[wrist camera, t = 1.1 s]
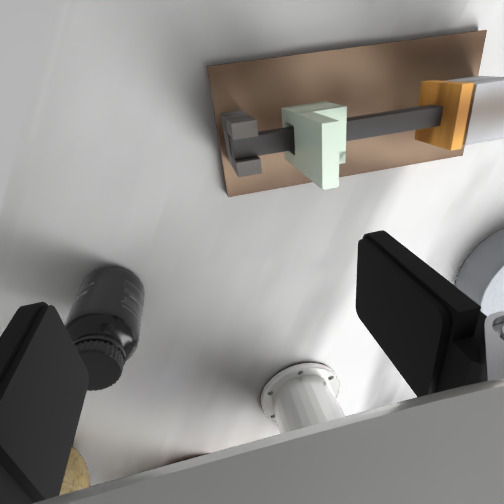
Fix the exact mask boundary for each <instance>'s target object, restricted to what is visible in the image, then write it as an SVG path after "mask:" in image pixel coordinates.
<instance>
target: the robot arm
mask: <svg viewBox="0 0 504 504" xmlns="http://www.w3.org/2000/svg"><path fill="white" fill-rule="evenodd" d="M480 310H481V306H480V305H478V304H477V303H476V302H475V301H473V300H472V299H471V298H470V297H468V296H467V295H466V294H464V293H463V292H462V291H461V290H459V289H458V288H457V287H455V286H454V285H453V284H452V283H450V282H449V281H448V280H447V279H445V278H444V277H443V276H441V275H440V274H439V273H438V272H436V271H435V270H434V269H433V268H431V267H430V266H429V265H427V264H426V263H425V262H424V261H422V260H421V259H420V258H418V257H417V256H416V255H415V254H413V253H412V252H411V251H410V250H408V249H407V248H406V247H404V246H403V245H402V244H401V243H399V242H398V241H397V240H396V239H394V238H393V237H392V236H390V235H389V234H388V233H387V232H385V231H377V232H372V233H368V234H365V235H364V236H363V239H361V240H359V242H358V260H357V286H356V311H357V314H358V317H359V318H360V320H361V321H362V322H363V324H364V325H365V326H366V328H367V329H368V330H369V332H370V333H371V334H372V336H373V337H374V339H375V340H376V341H377V343H378V344H379V345H380V347H381V348H382V349H383V351H384V352H385V353H386V355H387V356H388V358H389V359H390V360H391V362H392V363H393V364H394V366H395V367H396V368H397V370H398V371H399V372H400V374H401V375H402V376H403V378H404V379H405V381H406V382H407V383H408V385H409V386H410V387H411V389H412V390H413V391H414V393H415V394H416V395H417V398H413V399H409V400H405V401H402V402H398V403H394V404H390V405H387V406H383V407H379V408H375V409H372V410H368V411H364V412H360V413H357V414H353V415H349V416H345V415H344V413H343V411H342V409H341V407H340V405H339V403H338V401H337V399H336V398H337V396H338V394H339V390H340V384H339V380H338V378H337V376H336V374H335V373H334V371H333V370H332V369H330V368H329V367H327V366H325V365H322V364H319V363H303V364H298V365H294V366H291V367H288V368H286V369H284V370H283V371H281V372H279V373H278V374H276V375H275V376H274V377H273V378H272V379H271V380H270V381H269V382H268V383H267V384H266V386H265V387H264V389H263V391H262V394H261V405H262V409H263V411H264V413H265V415H266V416H267V417H268V418H270V419H271V420H273V421H275V422H277V424H278V427H279V431H280V434H279V435H275V436H272V437H268V438H264V439H261V440H257V441H253V442H250V443H246V444H242V445H239V446H235V447H231V448H228V449H224V450H220V451H217V452H213V453H209V454H206V455H202V456H199V457H195V458H191V459H188V460H184V461H180V462H177V463H173V464H170V465H166V466H163V467H159V468H155V469H152V470H148V471H145V472H141V473H137V474H134V475H130V476H127V477H123V478H120V479H116V480H112V481H109V482H105V483H102V484H98V485H95V486H91V487H87V488H84V489H80V490H77V491H73V492H70V493H66V494H63V495H59V494H60V490H61V486H62V483H63V479H64V475H65V471H66V467H67V464H68V460H69V456H70V452H71V448H72V445H73V441H74V437H75V433H76V429H77V426H78V422H79V418H80V414H81V410H82V406H83V403H84V399H85V395H86V391H87V387H88V384H89V373H88V370H87V368H86V366H85V364H84V362H83V360H82V358H81V356H80V354H79V353H78V351H77V349H76V347H75V345H74V343H73V341H72V339H71V337H70V335H69V333H68V331H67V329H66V328H65V326H64V324H63V322H62V320H61V318H60V316H59V314H58V312H57V310H56V309H55V307H54V306H52V305H50V306H48V305H47V304H46V303H45V302H39V303H35V304H30V305H25V306H21V307H20V308H19V309H18V310H17V312H16V313H15V315H14V316H13V318H12V319H11V321H10V323H9V324H8V326H7V327H6V329H5V331H4V332H3V334H2V335H1V337H0V504H504V311H500V312H496V313H493V314H490V315H489V316H488V317H487V316H486V315H485V314H484V313H482V312H481V311H480Z"/></svg>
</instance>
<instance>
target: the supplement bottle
mask: <svg viewBox="0 0 504 504" xmlns="http://www.w3.org/2000/svg"><path fill="white" fill-rule="evenodd" d="M143 304H144V287H143V285H142V283H141V281H140V279H139V278H138V277H137V276H136V275H134V274H133V273H132V272H130V271H128V270H126V269H123V268H118V267H104V268H100V269H97V270H95V271H93V272H92V273H90V274H89V275H88V276H87V277H86V278H85V279H84V281H83V283H82V285H81V287H80V289H79V291H78V294H77V296H76V298H75V301H74V303H73V306H72V308H71V310H70V313H69V315H68V317H67V320H66V322H65V325H64V326H65V328H66V329H67V331H68V333H69V335H70V337H71V339H72V341H73V343H74V345H75V347H76V349H77V351H78V353H79V354H80V356H81V358H82V360H83V362H84V364H85V366H86V368H87V370H88V373H89V384H88V387H87V390H89V391H92V390H102V389H104V388H107V387H109V386H112V384H114V383H116V381H117V380H119V377H120V376H121V374H122V370H123V366H124V364H125V361H127V360H128V359H129V358H130V357H131V356H132V355H133V353H134V352H135V350H136V348H137V345H138V340H139V333H140V326H141V318H142V311H143Z"/></svg>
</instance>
